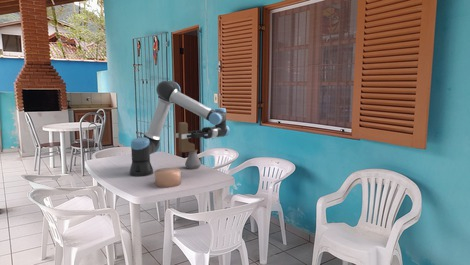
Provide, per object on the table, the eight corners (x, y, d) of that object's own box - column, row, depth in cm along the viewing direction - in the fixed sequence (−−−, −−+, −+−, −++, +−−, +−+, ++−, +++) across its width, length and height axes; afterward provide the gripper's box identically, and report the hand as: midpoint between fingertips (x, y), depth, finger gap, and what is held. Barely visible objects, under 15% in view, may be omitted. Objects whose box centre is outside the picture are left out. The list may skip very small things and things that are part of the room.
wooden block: (192, 149, 215) (191, 121, 212) (194, 151, 211) (194, 122, 208) (178, 151, 211) (178, 122, 208) (181, 152, 207) (180, 123, 204)
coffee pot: (203, 168, 241) (203, 147, 239) (188, 170, 235) (188, 149, 233) (192, 162, 259) (191, 143, 257) (177, 164, 254) (177, 144, 252)
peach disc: (150, 183, 204) (150, 170, 203) (172, 178, 214) (171, 166, 213) (163, 189, 193) (163, 175, 192) (185, 184, 203) (185, 171, 202)
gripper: (218, 139, 216) (187, 144, 200) (200, 136, 229) (171, 140, 213) (218, 128, 215) (187, 131, 199) (200, 125, 228) (170, 128, 212)
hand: (179, 136), depth 206 cm, fingers closed on wooden block, 5 cm apart
